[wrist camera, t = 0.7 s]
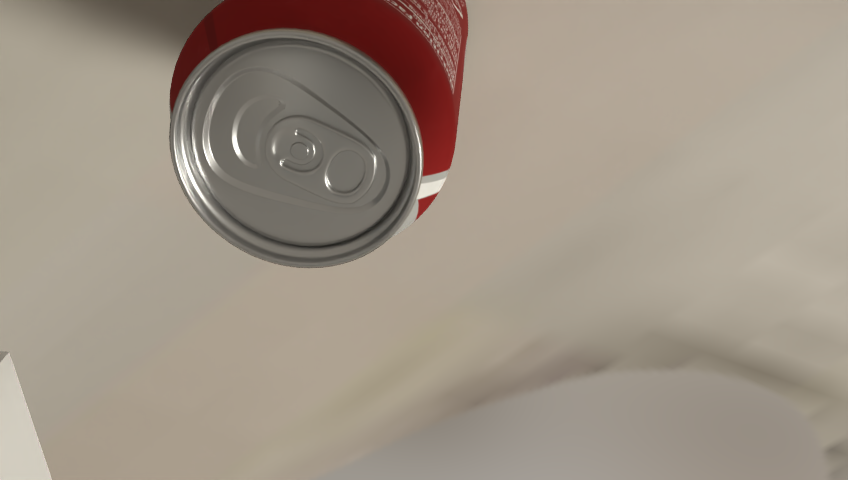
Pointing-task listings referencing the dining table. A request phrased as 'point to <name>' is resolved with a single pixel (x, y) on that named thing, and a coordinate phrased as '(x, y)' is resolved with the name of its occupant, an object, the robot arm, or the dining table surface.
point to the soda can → (317, 121)
